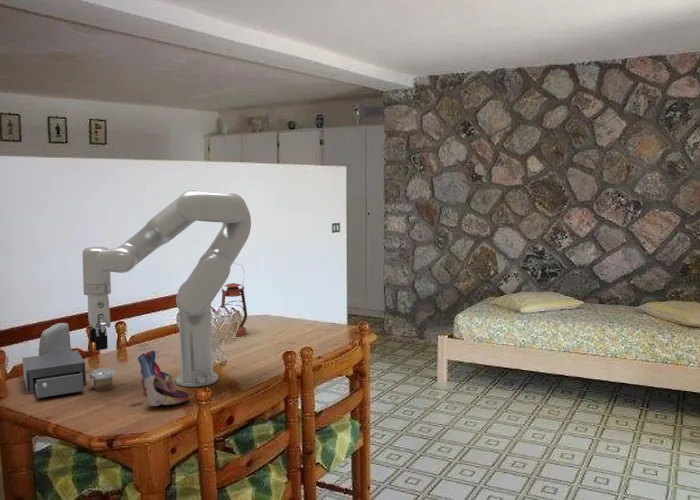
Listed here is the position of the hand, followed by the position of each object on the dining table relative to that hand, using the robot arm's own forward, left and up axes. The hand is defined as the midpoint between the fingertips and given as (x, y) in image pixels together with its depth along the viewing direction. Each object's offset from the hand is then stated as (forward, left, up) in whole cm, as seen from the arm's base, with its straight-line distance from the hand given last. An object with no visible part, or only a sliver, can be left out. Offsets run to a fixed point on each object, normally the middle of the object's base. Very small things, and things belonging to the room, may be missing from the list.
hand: (98, 345), depth 191 cm
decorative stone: (+31, +9, -13) cm, 35 cm away
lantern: (+41, -57, -13) cm, 71 cm away
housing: (+14, +11, -13) cm, 22 cm away
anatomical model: (-25, -13, -13) cm, 31 cm away
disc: (0, -1, -10) cm, 10 cm away
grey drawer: (+4, +11, -12) cm, 17 cm away
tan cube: (0, -1, -13) cm, 13 cm away
